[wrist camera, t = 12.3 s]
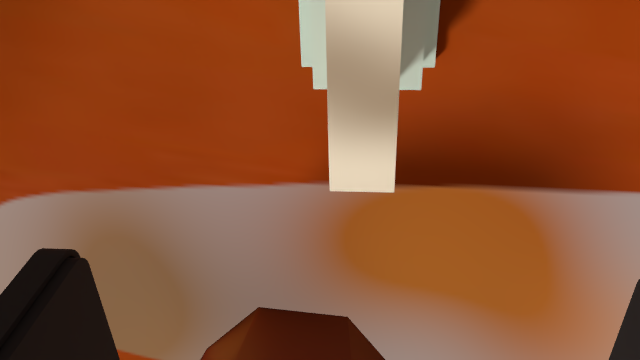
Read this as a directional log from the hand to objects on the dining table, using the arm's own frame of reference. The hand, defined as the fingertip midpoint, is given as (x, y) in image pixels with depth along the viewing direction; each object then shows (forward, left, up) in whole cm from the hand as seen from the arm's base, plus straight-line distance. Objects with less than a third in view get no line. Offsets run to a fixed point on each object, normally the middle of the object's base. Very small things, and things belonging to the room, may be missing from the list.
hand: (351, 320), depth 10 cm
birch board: (0, 0, -25) cm, 25 cm away
